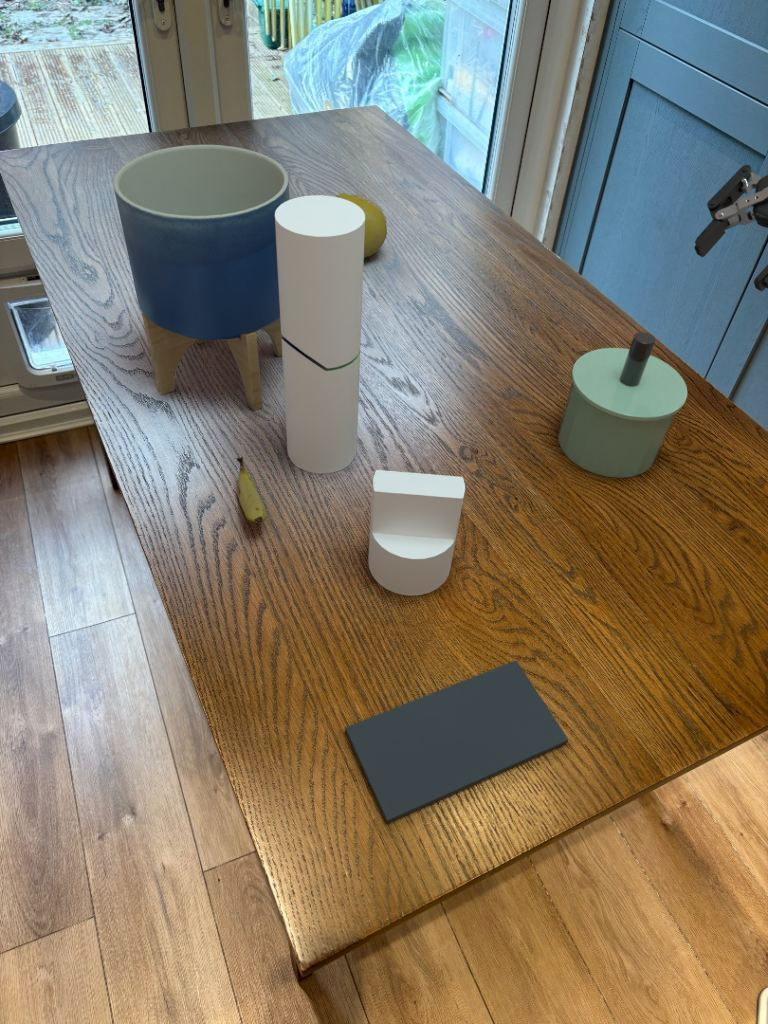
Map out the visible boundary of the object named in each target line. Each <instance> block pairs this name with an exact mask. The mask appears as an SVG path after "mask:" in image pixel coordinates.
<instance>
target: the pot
mask: <svg viewBox="0 0 768 1024" xmlns="http://www.w3.org/2000/svg"><path fill="white" fill-rule="evenodd" d="M676 415H677V413H676V414H674V415H672V416H670V417H667V418H664V419H660V420H653V421H636V420H629V419H624V418H620V417H616V416H613V415H610V414H608V413H605V412H603V411H601V410H599V409H597V408H596V407H594V406H592V405H591V404H589V403H588V402H587V401H586V400H584V399H583V398H582V397H581V396H580V395H579V393H578V392H577V391H576V389H575V387H574V385H573V382H572V381H571V385H570V389H569V392H568V395H567V398H566V403H565V406H564V409H563V411H562V416H561V418H560V423H559V426H558V433H557V440H558V444H559V446H560V449H561V451H562V452H563V453H564V455H565V456H566V457H567V458H568V459H569V460H570V461H571V462H572V463H574V464H575V465H576V466H578V467H579V468H581V469H583V470H585V471H587V472H590V473H592V474H595V475H599V476H602V477H607V478H613V479H614V478H616V479H622V478H623V479H624V478H632V477H637V476H639V475H641V474H644V473H645V472H647V471H648V470H649V469H651V468H652V466H653V465H654V464H655V462H656V459H657V458H658V457H659V455H660V452H661V450H662V449H663V445H664V443H665V441H666V438H667V436H668V433H669V431H670V429H671V427H672V425H673V422H674V420H675V418H676Z"/></svg>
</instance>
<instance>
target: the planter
mask: <svg viewBox="0 0 768 1024" xmlns="http://www.w3.org/2000/svg"><path fill="white" fill-rule="evenodd" d="M289 179H290V178H289V176H288V172H287V171H286V170H285V168H284V166H282V164H280V163H279V162H277V161H276V160H275V159H273V158H271V157H269V156H267V155H265V154H263V153H261V152H257V151H254V150H251V149H246V148H241V147H237V146H230V145H223V144H222V145H221V144H189V145H188V144H187V145H179V146H173V147H172V146H171V147H166V148H162V149H157V150H154V151H150V152H147V153H145V154H142V155H140V156H138V157H135V158H133V159H131V160H130V161H128V162H127V163H125V164H124V165H123V166H122V167H120V168H119V170H118V171H117V172H116V173H115V176H114V178H113V191H114V196H115V199H116V205H117V210H118V213H119V219H120V223H121V228H122V234H123V238H124V243H125V247H126V252H127V256H128V257H127V258H128V261H129V266H130V272H131V276H132V280H133V285H134V289H135V294H136V299H137V304H138V307H139V309H140V311H141V317H142V321H143V327H144V330H145V331H144V332H145V335H146V341H147V345H148V350H149V355H150V359H151V364H152V368H153V369H152V370H153V374H154V379H155V383H156V387H157V388H156V389H157V391H158V392H159V393H160V395H161V396H163V395H165V394H169V393H172V392H175V391H176V387H175V380H176V379H175V378H176V373H177V369H178V366H179V364H180V363H181V360H182V358H183V357H184V355H185V354H186V352H187V351H188V350H189V349H190V348H191V347H192V346H193V345H194V344H195V343H197V344H198V345H199V344H202V343H205V342H208V341H225V342H226V343H227V345H228V346H229V349H230V351H231V353H232V355H233V358H234V360H235V362H236V365H237V367H238V370H239V373H240V377H241V380H242V383H243V387H244V392H245V397H246V403H247V405H248V406H249V408H250V409H252V411H257V410H260V409H262V408H263V407H264V405H263V404H264V403H263V394H262V393H263V392H262V383H261V370H260V369H261V368H260V359H259V358H260V357H259V348H258V336H257V335H258V333H257V332H258V331H260V330H262V331H263V332H265V333H266V334H267V335H268V337H269V339H270V341H271V344H272V347H273V353H274V354H275V355H276V356H277V357H278V358H280V357H282V339H281V337H283V338H285V337H284V336H283V335H282V334H281V321H280V302H279V283H278V265H277V246H276V228H275V211H276V209H277V208H278V207H279V206H280V205H281V204H283V203H284V202H286V201H288V200H290V182H289Z"/></svg>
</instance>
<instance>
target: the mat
mask: <svg viewBox="0 0 768 1024" xmlns="http://www.w3.org/2000/svg"><path fill="white" fill-rule="evenodd" d="M344 730H345V735H346V737H347V739H348V741H349V743H350V745H351V747H352V750H353V752H354V754H355V756H356V759H357V761H358V763H359V765H360V767H361V770H362V772H363V774H364V776H365V779H366V781H367V783H368V785H369V788H370V790H371V792H372V794H373V797H374V798H375V801H376V803H377V805H378V808H379V811H380V812H381V814H382V817H383V819H384V821H385V823H386V824H390V823H393V822H395V821H397V820H399V819H401V818H404V817H407V816H409V815H411V814H413V813H415V812H418V811H419V810H422V809H424V808H426V807H429V806H431V805H432V804H435V803H437V802H440V801H442V800H444V799H446V798H449V797H451V796H453V795H455V794H457V793H459V792H462V791H464V790H466V789H468V788H470V787H473V786H475V785H477V784H480V783H482V782H484V781H486V780H489V779H491V778H493V777H495V776H498V775H500V774H502V773H504V772H506V771H508V770H511V769H513V768H515V767H517V766H521V765H523V764H524V763H527V762H529V761H531V760H533V759H535V758H538V757H540V756H542V755H544V754H547V753H549V752H551V751H554V750H555V749H557V748H560V747H563V746H564V745H567V744H568V742H569V738H568V736H567V735H566V734H565V732H564V731H563V729H562V727H561V726H560V725H559V723H558V721H557V720H556V719H555V717H554V716H553V714H552V712H551V711H550V709H549V707H548V706H547V705H546V703H545V701H544V700H543V698H542V697H541V695H540V694H539V692H538V691H537V689H536V688H535V687H534V684H533V683H532V682H531V680H530V679H529V677H528V676H527V675H526V672H525V671H524V669H523V668H522V667H521V665H520V663H519V662H518V660H513V661H510V662H508V663H505V664H502V665H500V666H497V667H495V668H493V669H490V670H488V671H485V672H483V673H480V674H478V675H475V676H472V677H470V678H467V679H465V680H462V681H460V682H457V683H454V684H452V685H450V686H447V687H444V688H442V689H439V690H437V691H434V692H432V693H429V694H427V695H424V696H422V697H419V698H416V699H414V700H411V701H409V702H406V703H404V704H402V705H399V706H397V707H394V708H391V709H388V710H386V711H384V712H383V711H382V712H381V713H378V714H376V715H374V716H371V717H369V718H366V719H363V720H361V721H358V722H355V723H353V724H351V725H348V726H345V729H344Z"/></svg>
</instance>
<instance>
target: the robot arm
mask: <svg viewBox="0 0 768 1024" xmlns="http://www.w3.org/2000/svg"><path fill="white" fill-rule="evenodd" d="M752 169H753V168H752V167H751V165H749V164H744V165H742V166H741V167H740V168H738V170H736V172H735V173H734V174H733V175H732V176H731V177H730V178H729V179H728V180H727V181H726V183H725V184H724V185H722V187H721V188H720V189H719V190H718V191H717V192H716V193H715V194H714V195H713V196H712V197H711V198H710V199H709V200H708V201H707V204H706V206H707V208H708V212H709V214H710V217H711V221H710V223H709V224H707V225H706V227H704V229H703V230H702V231H701V232H700V234H699V235H698V236H697V237H696V239H695V241H694V243H695V245H694V251H695V253H696V255H697V256H699V257H701V258H704V257H705V256H707V255H708V253H709V252H710V251H711V250H712V249H713V248H714V246H715V245H716V244H717V243H718V242H719V241H720V240H721V239H722V238H723V236H724V235H725V234H726V230H730V229H731V228H733V227H737V226H741V225H743V226H747V225H749V224H752V223H755V222H756V224H757V225H759V226H760V227H762V228H766V229H768V174H766V175H764V176H763V177H762V176H761V175H758V174H757V173H755V172H753V170H752ZM753 189H755V191H754V193H752V194H750V195H747V194H749V193H750V191H752V190H753ZM744 194H746V195H747V196H745V197H742V196H743V195H744ZM739 198H740V199H739ZM750 208H752V210H749V209H750ZM753 285H754V287H755V289H756V290H758V291H759V292H764V291H765V290H766V289H768V264H767V265H766V266H765V267H764V268H763V269H762V270H761V272H760V273H758V275H757V276H756V277H755V278H754V279H753Z"/></svg>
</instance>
